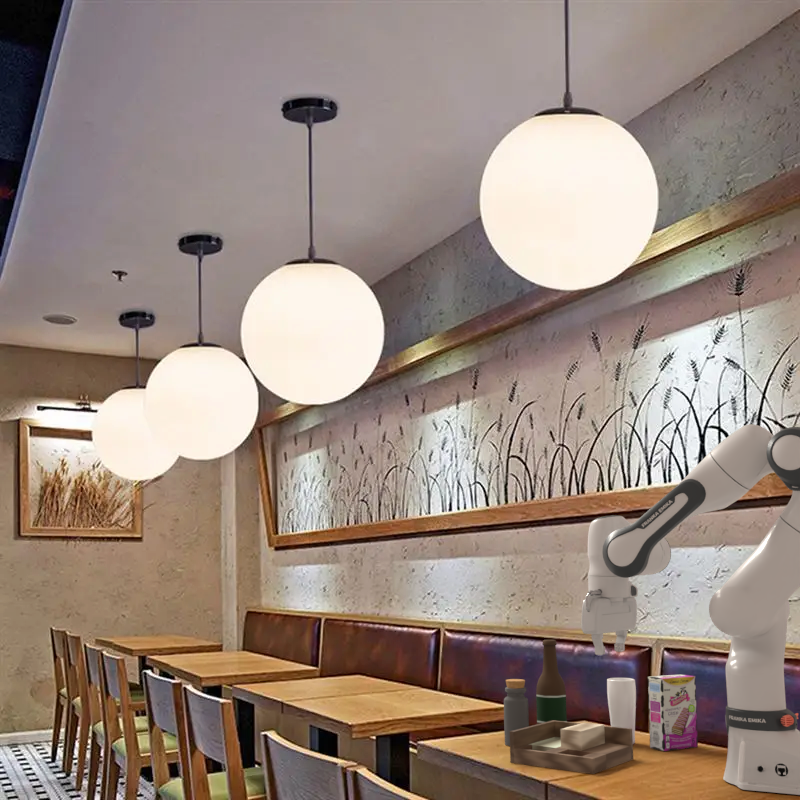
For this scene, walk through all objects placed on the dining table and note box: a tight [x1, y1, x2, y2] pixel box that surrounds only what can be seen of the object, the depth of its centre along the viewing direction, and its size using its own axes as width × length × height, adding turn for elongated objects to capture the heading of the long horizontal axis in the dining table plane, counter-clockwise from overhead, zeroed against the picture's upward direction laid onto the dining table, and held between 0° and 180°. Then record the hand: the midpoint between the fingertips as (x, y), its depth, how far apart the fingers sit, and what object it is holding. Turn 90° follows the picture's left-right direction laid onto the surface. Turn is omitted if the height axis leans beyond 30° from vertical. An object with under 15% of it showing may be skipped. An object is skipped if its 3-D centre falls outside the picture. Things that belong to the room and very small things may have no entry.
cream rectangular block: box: [560, 722, 605, 751], centre depth 218 cm, size 5×11×4 cm, turn 142°
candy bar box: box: [647, 674, 699, 752], centre depth 231 cm, size 11×5×16 cm, turn 120°
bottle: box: [503, 678, 530, 747], centre depth 237 cm, size 6×6×15 cm
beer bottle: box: [535, 639, 568, 724], centre depth 243 cm, size 8×8×24 cm
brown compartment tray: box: [509, 720, 634, 775], centre depth 217 cm, size 20×19×6 cm
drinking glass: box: [606, 677, 637, 745], centre depth 237 cm, size 7×7×15 cm
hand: (610, 653), depth 216 cm, fingers open, 8 cm apart
